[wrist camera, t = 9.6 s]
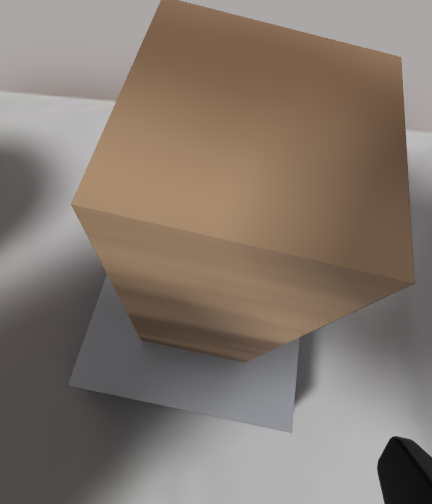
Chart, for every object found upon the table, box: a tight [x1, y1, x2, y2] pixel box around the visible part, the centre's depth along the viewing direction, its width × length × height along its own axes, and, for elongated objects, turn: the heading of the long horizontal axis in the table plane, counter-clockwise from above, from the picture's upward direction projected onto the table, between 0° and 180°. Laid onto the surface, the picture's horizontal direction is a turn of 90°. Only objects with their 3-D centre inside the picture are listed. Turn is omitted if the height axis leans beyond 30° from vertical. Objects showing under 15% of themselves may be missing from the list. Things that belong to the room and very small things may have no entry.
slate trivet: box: [68, 275, 300, 433], centre depth 18 cm, size 10×10×3 cm
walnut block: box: [71, 0, 415, 363], centre depth 11 cm, size 5×5×12 cm
